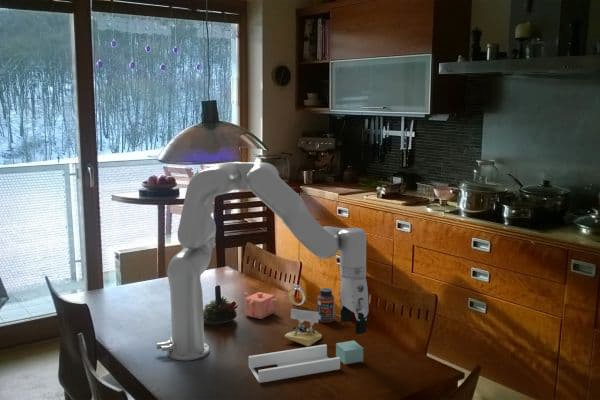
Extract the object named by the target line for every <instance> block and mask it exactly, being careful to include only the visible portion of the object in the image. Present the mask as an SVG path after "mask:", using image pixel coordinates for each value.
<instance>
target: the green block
mask: <svg viewBox="0 0 600 400" xmlns="http://www.w3.org/2000/svg"><path fill="white" fill-rule="evenodd" d="M335 357H339V358H340V363H342V364H344V365H349V364H354V363H364V347H363V346H361V345H360V344H359V343H357V341H355V340H349V341H343V342H337V343H335Z"/></svg>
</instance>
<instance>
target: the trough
mask: <svg viewBox="0 0 600 400" xmlns="http://www.w3.org/2000/svg"><path fill="white" fill-rule="evenodd" d="M272 365H276V367H268V368H264V369H258V370H257V371H258V372H257V371H256V370H255V368H260V367H267V366H272ZM248 368H249V370H250V371H251V373H252V374H253V375H254V377H255V378H256V380H257V382H258V383H259V384H261V383H268V382H272V381H278V380H284V379H290V378H297V377H302V376H307V375H308V376H309V375H313V374H319V373H324V372H325V373H326V372H331V371H338V370H341V361H340V358H339V357H336V356H335V357H329V356H328V345H327V344H326V343H325V344H319V345H313V346H312V345H310V346H309V347H307V346H305V347H299V348H293V349H285V350H282V351H281V350H279V351H274V352H269V353H268V352H267V353H261V354H253V355H248Z"/></svg>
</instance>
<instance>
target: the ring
mask: <svg viewBox="0 0 600 400" xmlns="http://www.w3.org/2000/svg"><path fill="white" fill-rule="evenodd" d="M294 290H297V291H299V292H300V293H301V295H302V300H301V302H300V303H299V302H295V301H294V299H293V298H292V291H294ZM287 295H288V300H289V301H290V303H292V305H294V306H295V307H298V306H301V305H303V304H305V302H306V298H307V294H306V291H305V290H304V288H302V286H301V285H299V284H295V285H292V286H291V288H290V289H289V290H288V293H287Z"/></svg>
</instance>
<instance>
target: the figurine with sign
mask: <svg viewBox="0 0 600 400" xmlns="http://www.w3.org/2000/svg"><path fill="white" fill-rule="evenodd" d="M318 317H319V312H317V311H313V310H307V309H296V308H292V307H291V308H290V319H291V320H292V319H293V320H298V325H297V326H294V327H293V329H292V330H291V331H290V332H287V333H286V334H284V338H286V339H288V340H291V341H292V342H295V343H298V344H301V345H302V346H305V347H311V346H312V345H314V344H315V343H316V342H317V341H319V340H321V339H322V338H323V337H322V336H323V334H321V333H320V332H319V331H316V330H315V329H313V326H314V325H315V324H319V321H318ZM304 322H307V323H309V326H310V327H308V328H307V324H306V323H305V324H303V323H304ZM302 324H303V325H302Z"/></svg>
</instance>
